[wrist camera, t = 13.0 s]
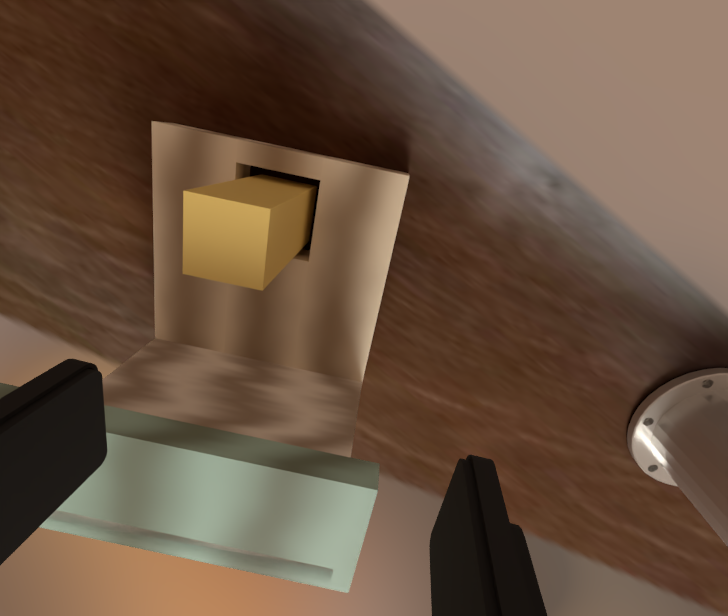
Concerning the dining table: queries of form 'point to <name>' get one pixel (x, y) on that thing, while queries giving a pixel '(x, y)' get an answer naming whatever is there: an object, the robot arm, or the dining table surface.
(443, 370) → the dining table surface
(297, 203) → the peg
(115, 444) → the green-topped stand
